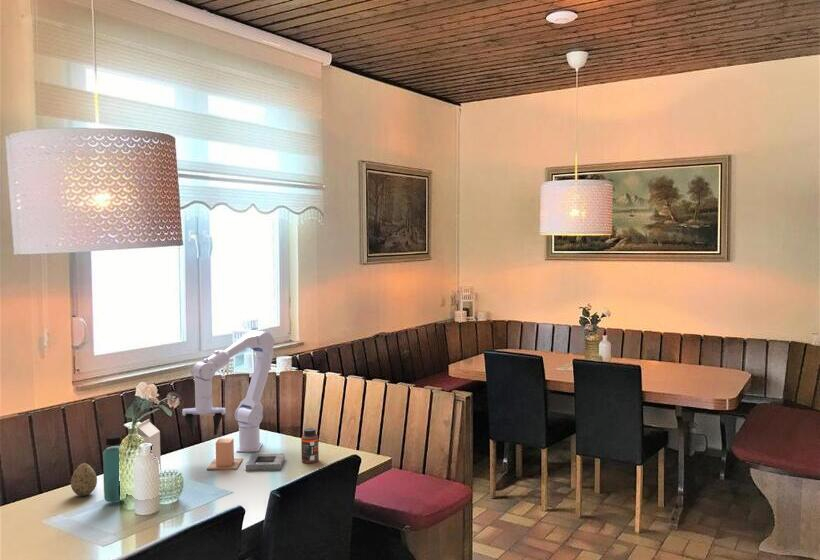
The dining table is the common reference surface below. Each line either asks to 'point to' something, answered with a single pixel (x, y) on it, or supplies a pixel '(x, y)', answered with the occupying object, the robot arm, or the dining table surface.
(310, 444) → the supplement bottle
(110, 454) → the beverage bottle
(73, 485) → the decorative egg
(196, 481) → the dining table surface
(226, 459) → the terracotta block
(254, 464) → the square socket
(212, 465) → the walnut pad
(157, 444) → the milk carton
